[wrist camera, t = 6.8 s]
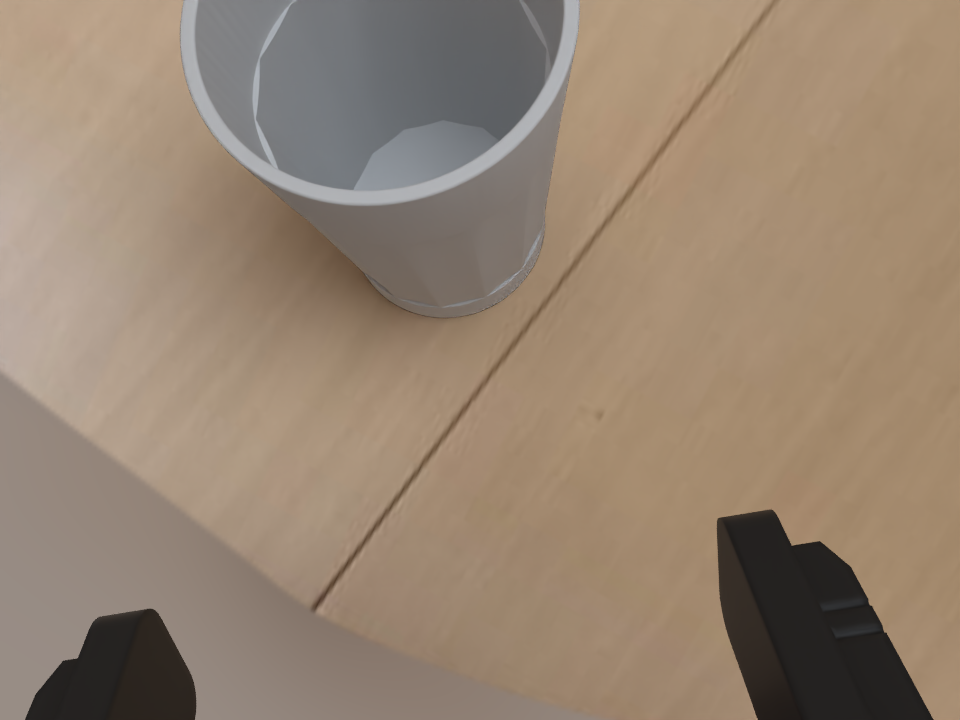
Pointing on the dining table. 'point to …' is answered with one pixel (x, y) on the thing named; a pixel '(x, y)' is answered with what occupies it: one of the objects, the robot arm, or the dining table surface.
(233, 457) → the dining table surface
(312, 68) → the cup
